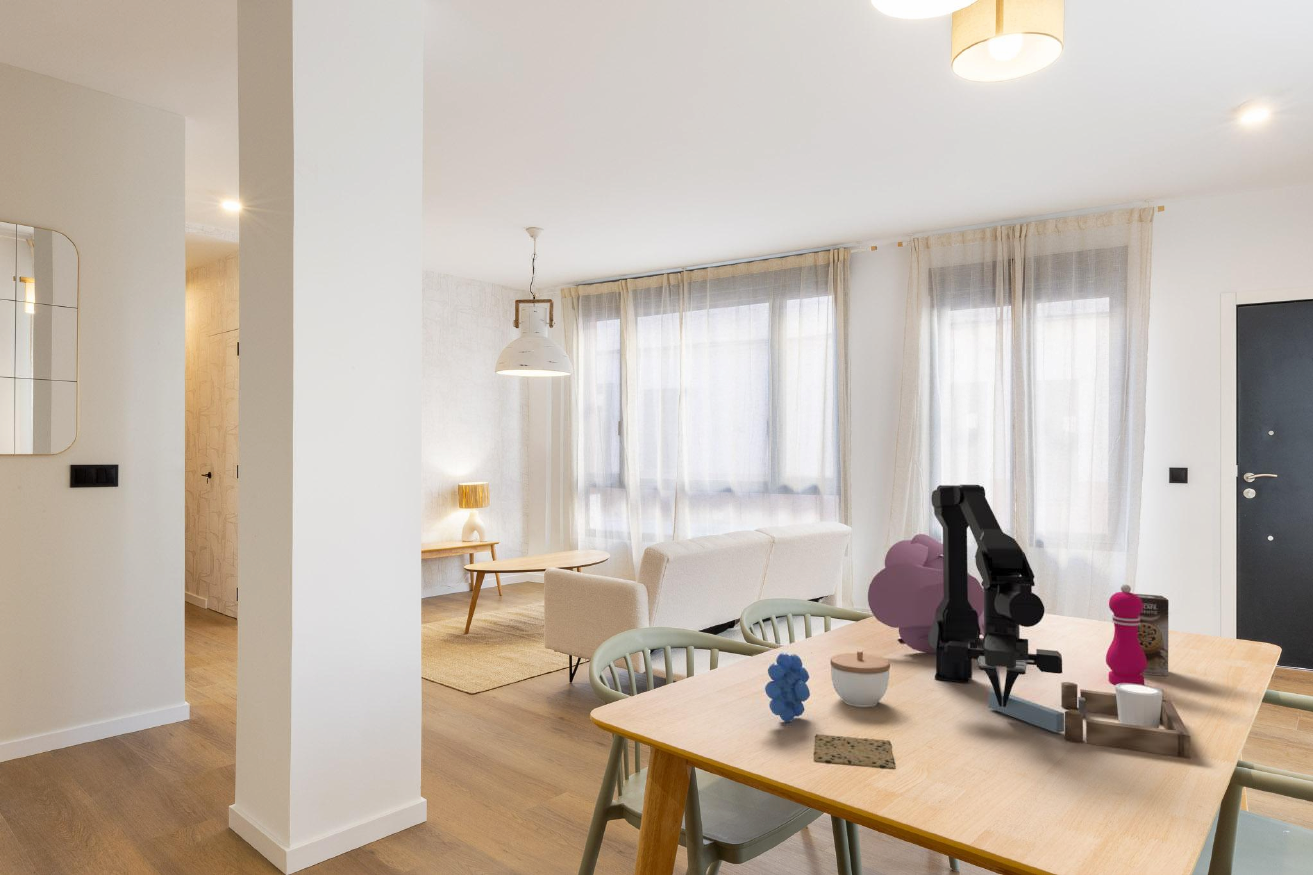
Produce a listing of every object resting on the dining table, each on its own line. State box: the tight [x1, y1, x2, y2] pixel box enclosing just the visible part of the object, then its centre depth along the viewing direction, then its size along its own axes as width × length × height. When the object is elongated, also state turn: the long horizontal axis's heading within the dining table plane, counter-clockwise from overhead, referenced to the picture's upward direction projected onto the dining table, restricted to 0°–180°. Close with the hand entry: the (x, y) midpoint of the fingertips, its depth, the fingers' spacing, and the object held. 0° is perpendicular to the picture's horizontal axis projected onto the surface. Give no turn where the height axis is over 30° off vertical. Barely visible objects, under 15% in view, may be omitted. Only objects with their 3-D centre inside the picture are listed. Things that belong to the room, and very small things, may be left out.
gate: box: [988, 689, 1065, 734], centre depth 136 cm, size 2×14×3 cm, turn 24°
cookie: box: [813, 733, 897, 770], centre depth 122 cm, size 12×12×1 cm
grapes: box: [764, 652, 811, 723], centre depth 134 cm, size 12×7×12 cm, turn 136°
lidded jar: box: [829, 650, 891, 708], centre depth 146 cm, size 11×11×9 cm
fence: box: [1060, 681, 1192, 759], centre depth 133 cm, size 17×21×5 cm
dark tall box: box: [1115, 591, 1169, 677], centre depth 170 cm, size 9×6×16 cm
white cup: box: [1114, 683, 1163, 729], centre depth 132 cm, size 7×7×7 cm
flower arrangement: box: [867, 533, 984, 653], centre depth 194 cm, size 35×24×28 cm
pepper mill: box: [1105, 584, 1147, 686], centre depth 160 cm, size 7×7×20 cm
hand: (1002, 706), depth 138 cm, fingers closed
